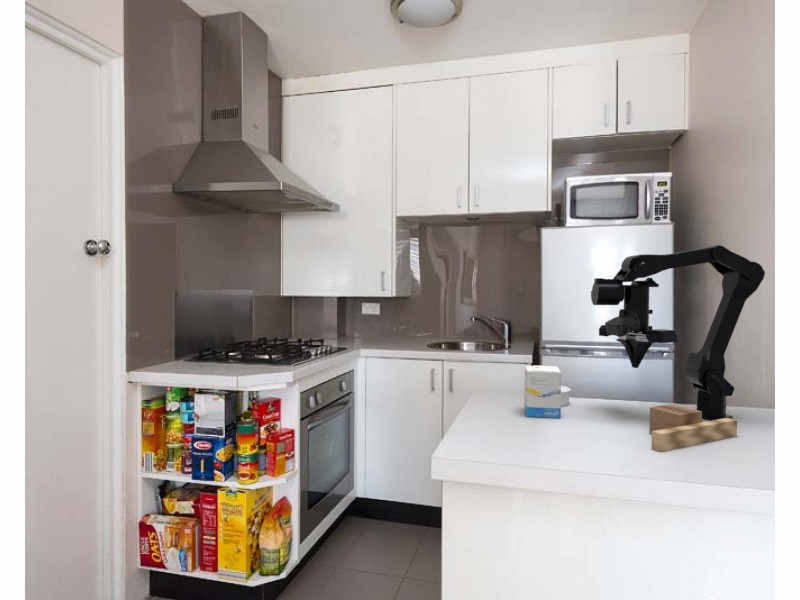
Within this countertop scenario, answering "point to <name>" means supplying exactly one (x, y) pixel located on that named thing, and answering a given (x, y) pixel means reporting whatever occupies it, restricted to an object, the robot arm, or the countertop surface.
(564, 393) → the ramekin
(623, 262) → the robot arm
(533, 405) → the ink box
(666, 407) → the walnut block
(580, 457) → the countertop surface
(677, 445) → the oak plank
